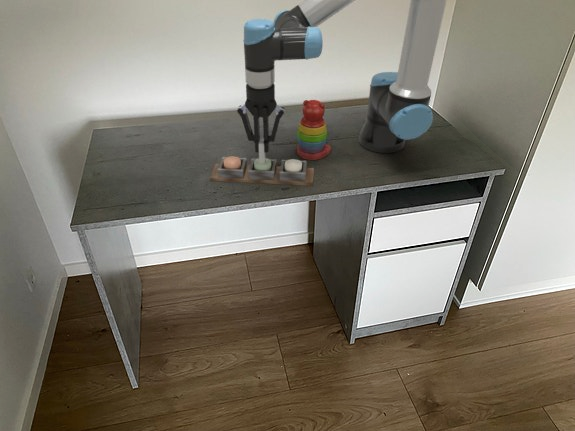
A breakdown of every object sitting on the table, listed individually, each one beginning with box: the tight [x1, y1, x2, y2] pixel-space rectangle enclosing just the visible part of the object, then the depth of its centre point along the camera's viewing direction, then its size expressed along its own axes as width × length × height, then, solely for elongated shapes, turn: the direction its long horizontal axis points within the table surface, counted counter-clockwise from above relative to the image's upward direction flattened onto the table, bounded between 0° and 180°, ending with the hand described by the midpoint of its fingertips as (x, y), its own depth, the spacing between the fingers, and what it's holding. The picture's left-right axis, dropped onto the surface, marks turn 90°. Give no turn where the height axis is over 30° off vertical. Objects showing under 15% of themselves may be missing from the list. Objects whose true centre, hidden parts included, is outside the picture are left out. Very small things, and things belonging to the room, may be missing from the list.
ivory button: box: [285, 158, 302, 173], centre depth 137 cm, size 5×5×3 cm
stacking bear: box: [296, 99, 332, 161], centre depth 145 cm, size 11×10×18 cm
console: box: [210, 156, 315, 187], centre depth 139 cm, size 30×8×4 cm, turn 86°
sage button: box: [254, 157, 271, 171], centre depth 138 cm, size 5×5×3 cm
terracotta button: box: [224, 155, 241, 170], centre depth 138 cm, size 5×5×3 cm
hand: (262, 161), depth 137 cm, fingers closed
